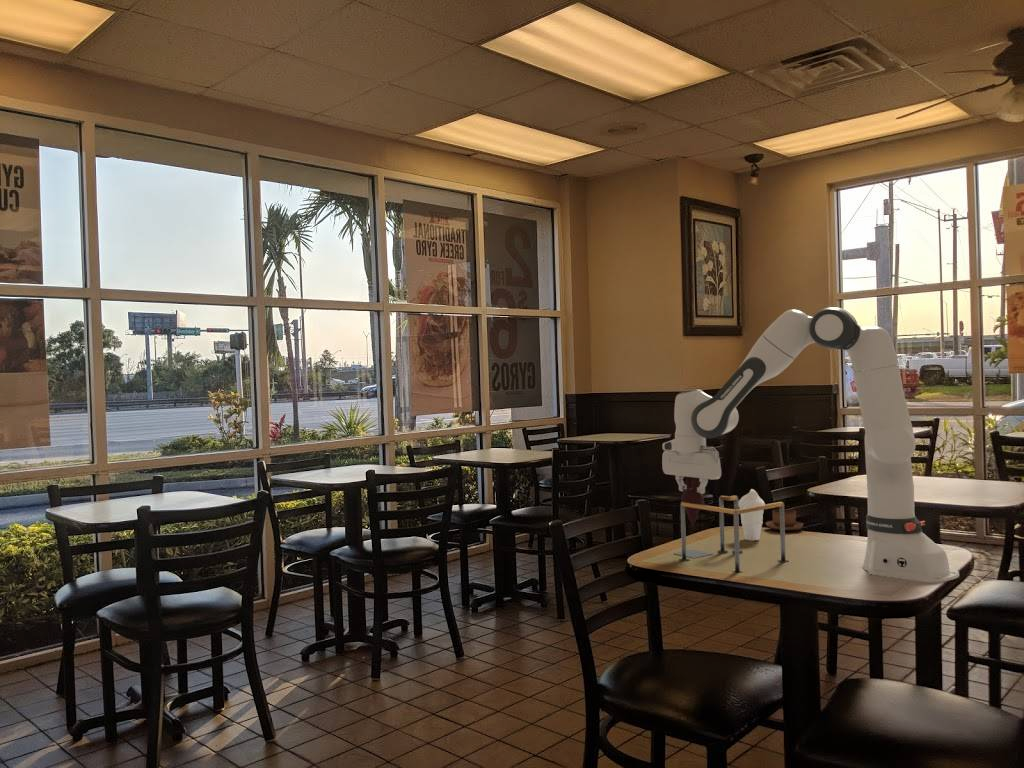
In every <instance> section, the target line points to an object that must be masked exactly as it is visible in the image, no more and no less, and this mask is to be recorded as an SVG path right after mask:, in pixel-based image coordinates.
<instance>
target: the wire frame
mask: <svg viewBox="0 0 1024 768" xmlns="http://www.w3.org/2000/svg"><path fill="white" fill-rule="evenodd" d="M724 501H727V502H728V501H733V508H726V507H724ZM738 503H739V496H738V495H731V496H730V495H729V496H728V495H720V496H719V497H718V506H713V505H707V504H702V505H701V504H694V503H688V502H681V501H680V532H681V535H680V537H681V538H680V539H681V552H682V556H681V558H679V559H678V560H681V561H680V562H684V561H685V562H689V561H690V558H688V557H686V551H687V538H686V537H687V536H686V534H687V533H686V509H685V506H686V507H692V508H698V509H700V510H705V511H711V512H712V511H713V512H717V513H719V541H720V543H719V546H720V547H719V548H720V549H718V550H717V553H718V554H723V555H724V554H728V552H729V551H728V550H725V547H726V546H725V514H730V515H733V539H734V540H733V545H734V547H733V549H734V550H732V554H734V570H732V571H731V573H735V574H742V573H743V571H742V570H740V569H741V568H740V561H741V560H740V555H741V554H742V553H744V552H743V550H740V522H739V521H740V517H739V515H741V514H742V513H747V512H753V511H758V510H763V511H764V510H768V509H774V508H779V509H780V530H779V531H780V533H779V535H780V538H779V539H780V559H778V560H777V562H779V563H783V564H785V563H788V562H789V560H788V559H786V532H785V519H784V509H785V503H784V502H783V501H778V502H772V503H767V504H766V503H765V505H760V506H754V507H749V508H743V509H740V508H739V506H738Z"/></svg>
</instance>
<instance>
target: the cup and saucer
mask: <svg viewBox="0 0 1024 768" xmlns="http://www.w3.org/2000/svg"><path fill="white" fill-rule="evenodd" d="M796 514H797V513H796V510H794V509H791V508H790V509H789V508H788V509H787V508H784V519H785V531H786V532H787V531H795V530H796V531H797V530H799V529H802V528H803V526H804V523H803V522H801V521H796V520H797V519H796V517H797V516H796ZM765 525H766V527H767V528H770V529H772V530H775V531H776V530H777V531H780V508H778V509H777V508H776V509H773V510H772V520H768V521H765Z"/></svg>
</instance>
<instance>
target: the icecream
mask: <svg viewBox="0 0 1024 768" xmlns="http://www.w3.org/2000/svg"><path fill="white" fill-rule="evenodd" d="M684 481H685V482H684V483H685V485H686V486H687V487H686V488H687V489H686V490H685V491H682V494H681V497H680V503H681V502H688V503H694V504H701V505H706V502H705V499H704V497H705V496H704V494H699V493H697V487H699V486H700V482H699V478H694V477H686V476H685V480H684ZM700 510H701V509H698V508H692V507H686V506H685V513H686V514H687V517H688V520H689V523H690V526H691V528H693V527H694V526H695V525H696V522H697V518H698V517H699V516H698V515H699V513H700Z"/></svg>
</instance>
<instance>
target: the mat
mask: <svg viewBox="0 0 1024 768" xmlns="http://www.w3.org/2000/svg"><path fill="white" fill-rule="evenodd" d="M675 554H677V555H676V556H680V555H681V556H680V557H682V551H678V552H674V553H673V555H675ZM713 555H714V553H713V552H706V551H701V550H697V549H686V558H688V559H690V558H691V559H700V558H703V557H710V556H713Z"/></svg>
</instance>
